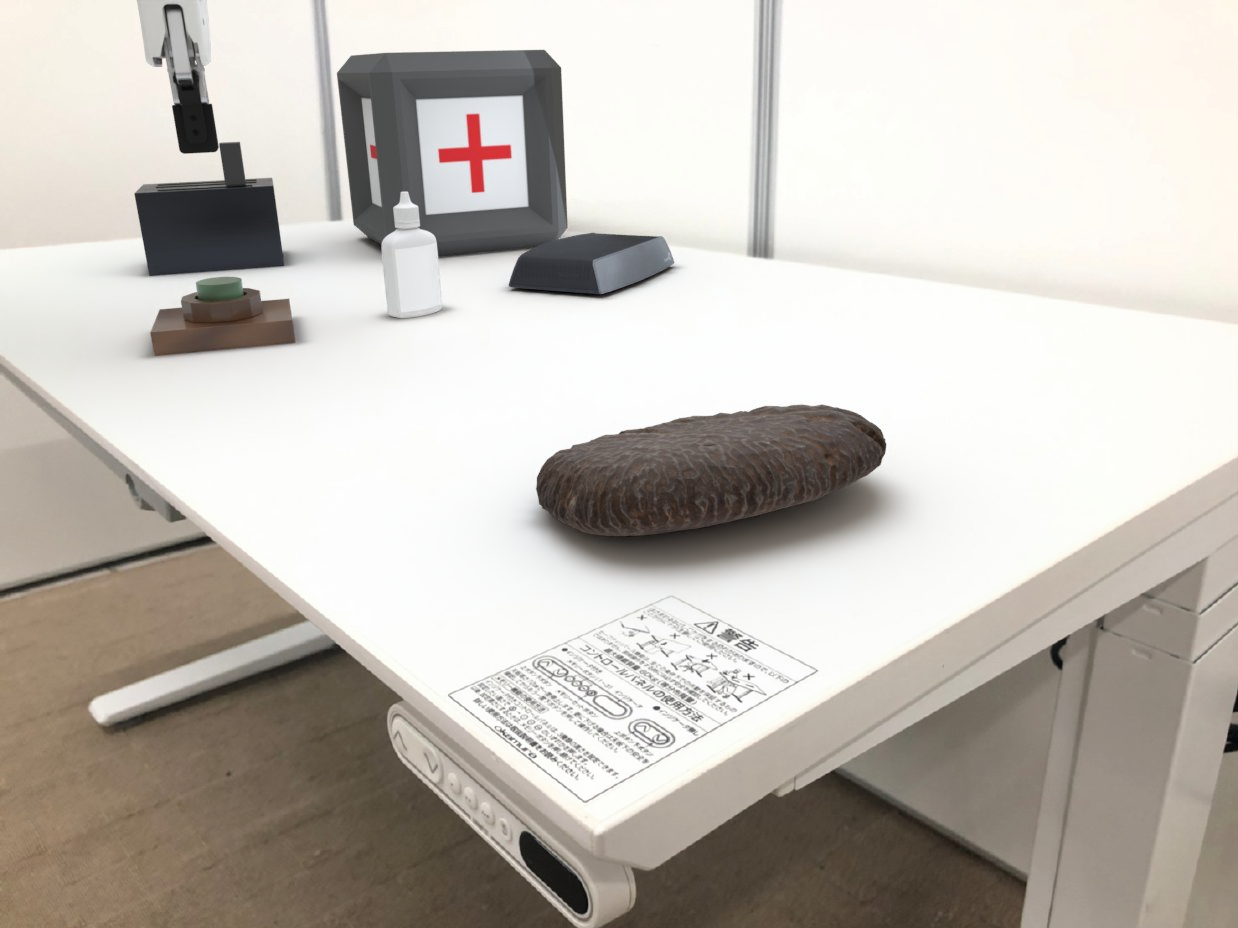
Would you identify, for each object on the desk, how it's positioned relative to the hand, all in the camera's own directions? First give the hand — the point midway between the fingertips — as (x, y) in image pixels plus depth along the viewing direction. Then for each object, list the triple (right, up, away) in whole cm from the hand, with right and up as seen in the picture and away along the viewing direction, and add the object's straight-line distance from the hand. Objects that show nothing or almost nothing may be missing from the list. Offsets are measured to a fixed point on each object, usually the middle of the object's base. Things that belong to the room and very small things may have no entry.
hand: (199, 151), depth 93 cm
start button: (0, -12, +5) cm, 13 cm away
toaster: (-15, -2, +44) cm, 46 cm away
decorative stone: (+42, -30, -34) cm, 62 cm away
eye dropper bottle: (+16, -12, +14) cm, 25 cm away
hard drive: (+34, -6, +29) cm, 45 cm away
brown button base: (0, -16, +6) cm, 17 cm away
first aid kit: (+14, +4, +56) cm, 58 cm away
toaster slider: (-11, +7, +38) cm, 40 cm away
